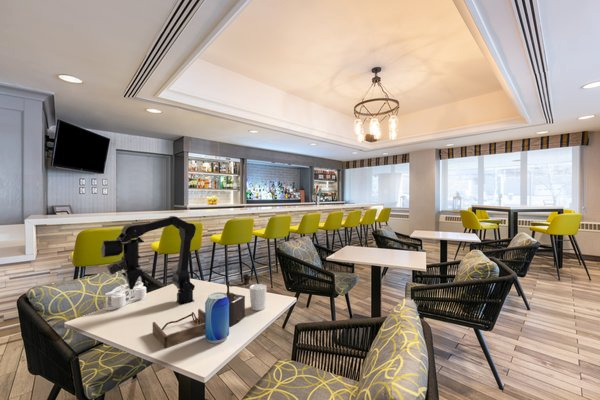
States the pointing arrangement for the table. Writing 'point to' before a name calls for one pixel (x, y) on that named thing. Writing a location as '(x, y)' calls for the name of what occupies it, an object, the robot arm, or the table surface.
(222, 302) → the beer can
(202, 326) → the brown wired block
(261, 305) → the white cup
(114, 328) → the table surface
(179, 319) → the glasses
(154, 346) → the table surface
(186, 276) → the robot arm
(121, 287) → the toilet paper holder
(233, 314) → the coffee grinder
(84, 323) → the table surface
